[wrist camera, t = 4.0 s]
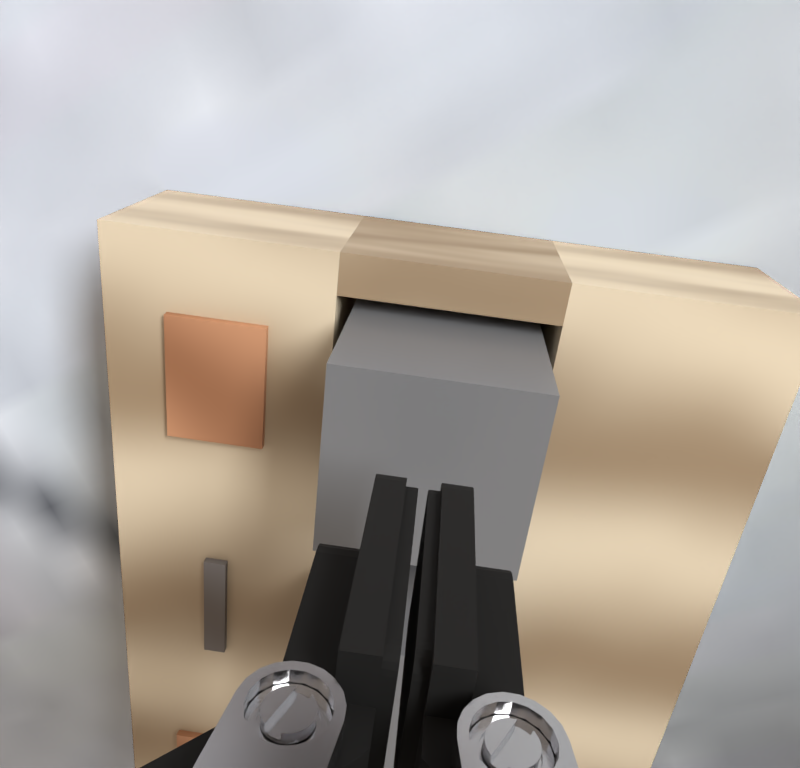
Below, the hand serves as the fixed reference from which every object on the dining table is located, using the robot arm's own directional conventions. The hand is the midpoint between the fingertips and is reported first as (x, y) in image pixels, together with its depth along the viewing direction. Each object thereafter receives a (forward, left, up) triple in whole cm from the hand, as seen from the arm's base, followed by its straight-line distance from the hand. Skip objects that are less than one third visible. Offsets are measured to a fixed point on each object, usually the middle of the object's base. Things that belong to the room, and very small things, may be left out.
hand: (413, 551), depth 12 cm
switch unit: (+7, 0, -9) cm, 12 cm away
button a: (0, 0, -6) cm, 6 cm away
